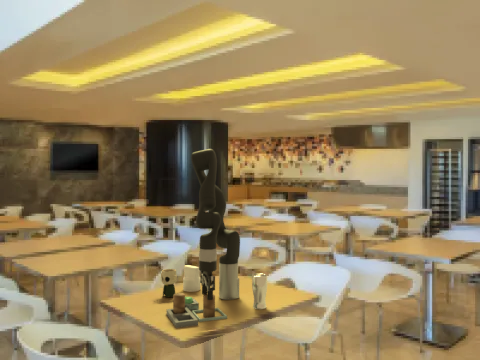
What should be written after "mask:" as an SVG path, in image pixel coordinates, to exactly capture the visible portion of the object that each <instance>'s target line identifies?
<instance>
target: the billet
mask: <svg viewBox="0 0 480 360" xmlns="http://www.w3.org/2000/svg"><path fill="white" fill-rule="evenodd" d="M202 295H203V294H202ZM202 297H203V298H202V302H203V303H202V304H203V305H202V309H203V312H202V316H203V318H210V317H216V311H215V308H216V295H215V294H213V300H208V299H207V294H206V295H203V296H202Z"/></svg>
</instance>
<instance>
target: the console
mask: <svg viewBox="0 0 480 360" xmlns="http://www.w3.org/2000/svg"><path fill="white" fill-rule="evenodd" d="M192 298H193V297H192ZM199 306H200V303H199V302H198V300H196V299H195V298H193V303H187V304H185V307H187V308H188V309H189V310H190V311H191V312H192V311H193V310H200V307H199Z"/></svg>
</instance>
